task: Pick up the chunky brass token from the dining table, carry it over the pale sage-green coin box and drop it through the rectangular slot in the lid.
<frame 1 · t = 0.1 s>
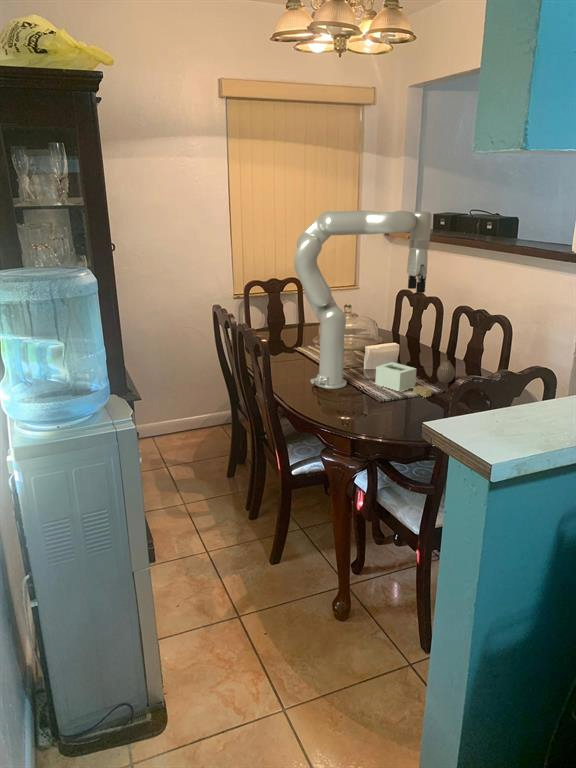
hand: (416, 290, 220), 37 cm above the table, tool pointing down, fingers open, 9 cm apart
coin box: (395, 386, 225), on the table
token: (421, 395, 216), on the table
vase: (445, 381, 232), on the table
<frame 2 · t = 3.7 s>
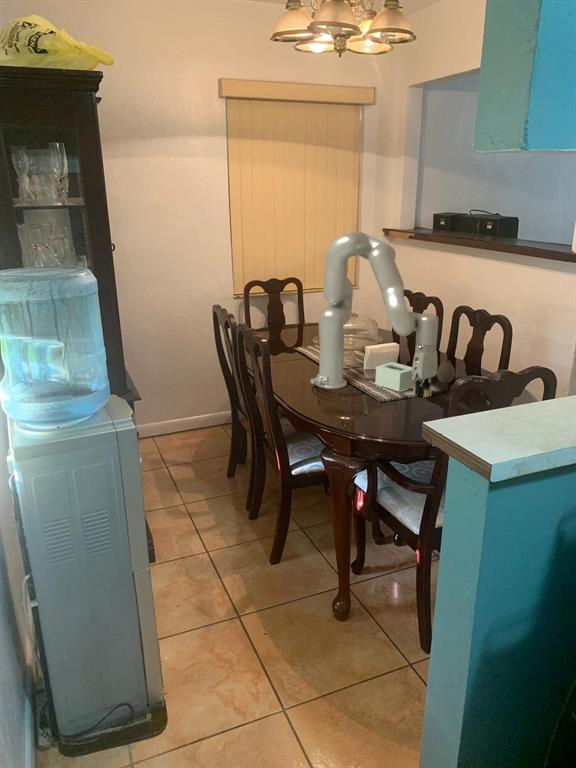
hand: (422, 393, 216), 1 cm above the table, tool pointing down, fingers closed on token, 3 cm apart
token: (422, 395, 216), on the table, touching gripper
everything else where it was.
when the fingers open (10 cm above the table, at t = 7.6 s): token drops 8 cm, resting on coin box.
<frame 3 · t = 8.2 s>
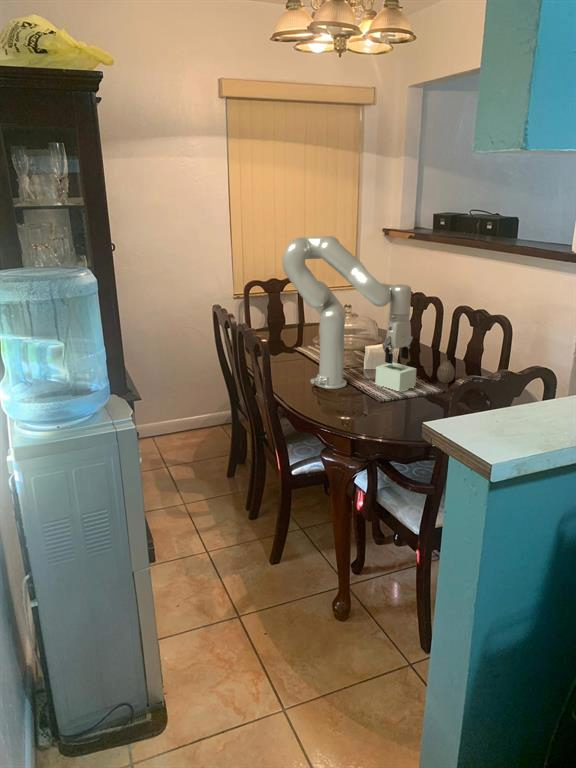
hand: (396, 360, 222), 11 cm above the table, tool pointing down, fingers open, 9 cm apart
token: (395, 384, 225), point 1 cm above the table, touching coin box
everything else where it was.
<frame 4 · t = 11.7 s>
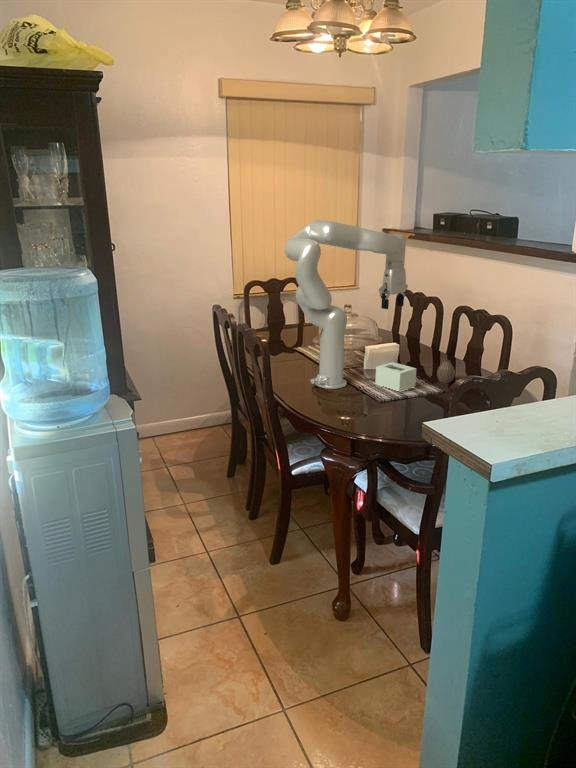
hand: (392, 307, 234), 28 cm above the table, tool pointing down, fingers open, 9 cm apart
nothing on the table moved.
at the end: token inside the target area on the coin box (0.0 cm from its centre), point 0.8 cm above the coin box's base; the gripper is holding nothing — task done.
